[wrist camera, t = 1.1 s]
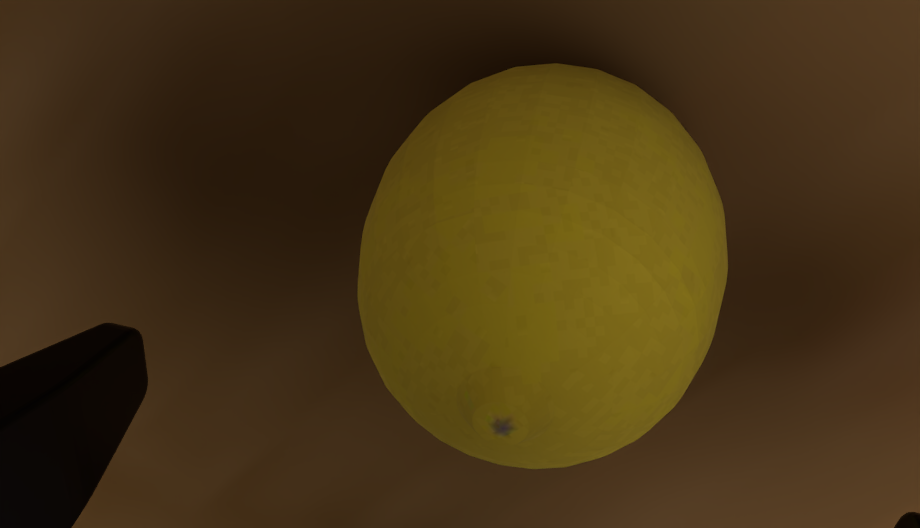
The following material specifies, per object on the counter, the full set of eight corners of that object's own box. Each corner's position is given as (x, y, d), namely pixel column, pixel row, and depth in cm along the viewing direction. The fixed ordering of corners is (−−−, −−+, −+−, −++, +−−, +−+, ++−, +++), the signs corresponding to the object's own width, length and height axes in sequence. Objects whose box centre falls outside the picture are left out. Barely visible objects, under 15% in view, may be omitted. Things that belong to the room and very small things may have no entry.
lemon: (614, 308, 18) (583, 638, 11) (390, 186, 17) (223, 455, 11) (778, 101, 15) (866, 390, 8) (511, -52, 14) (378, 121, 8)
